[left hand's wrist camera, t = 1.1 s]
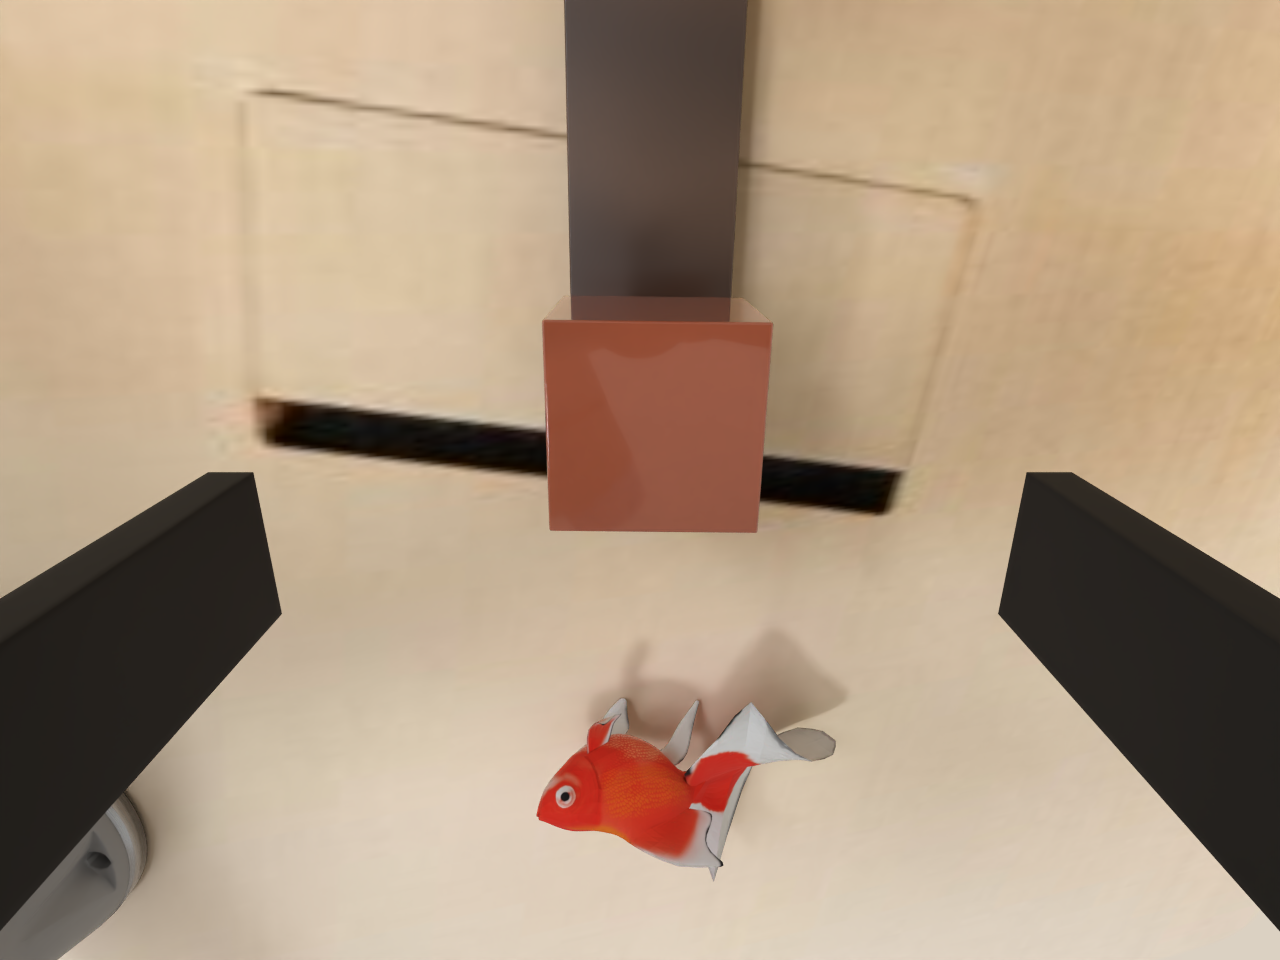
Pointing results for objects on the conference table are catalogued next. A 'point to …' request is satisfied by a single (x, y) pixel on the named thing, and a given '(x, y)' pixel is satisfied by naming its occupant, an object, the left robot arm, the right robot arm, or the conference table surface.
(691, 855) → the fish
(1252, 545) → the conference table surface
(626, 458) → the cap block
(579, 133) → the walnut stand
